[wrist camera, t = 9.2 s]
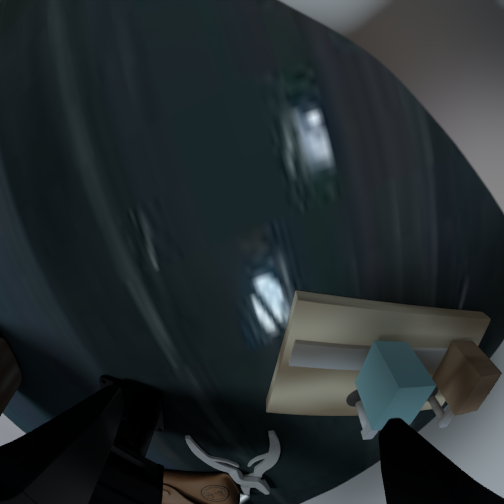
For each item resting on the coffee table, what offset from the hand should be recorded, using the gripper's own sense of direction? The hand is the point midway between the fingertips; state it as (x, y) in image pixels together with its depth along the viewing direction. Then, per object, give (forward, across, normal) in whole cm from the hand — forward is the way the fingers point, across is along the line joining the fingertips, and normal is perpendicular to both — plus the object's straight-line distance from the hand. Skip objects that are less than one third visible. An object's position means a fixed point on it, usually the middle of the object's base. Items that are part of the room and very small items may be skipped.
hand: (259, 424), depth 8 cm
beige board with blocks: (+12, -12, +6) cm, 18 cm away
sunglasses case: (+12, +6, +33) cm, 36 cm away
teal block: (+10, -10, +6) cm, 15 cm away
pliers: (+13, -2, +25) cm, 28 cm away
